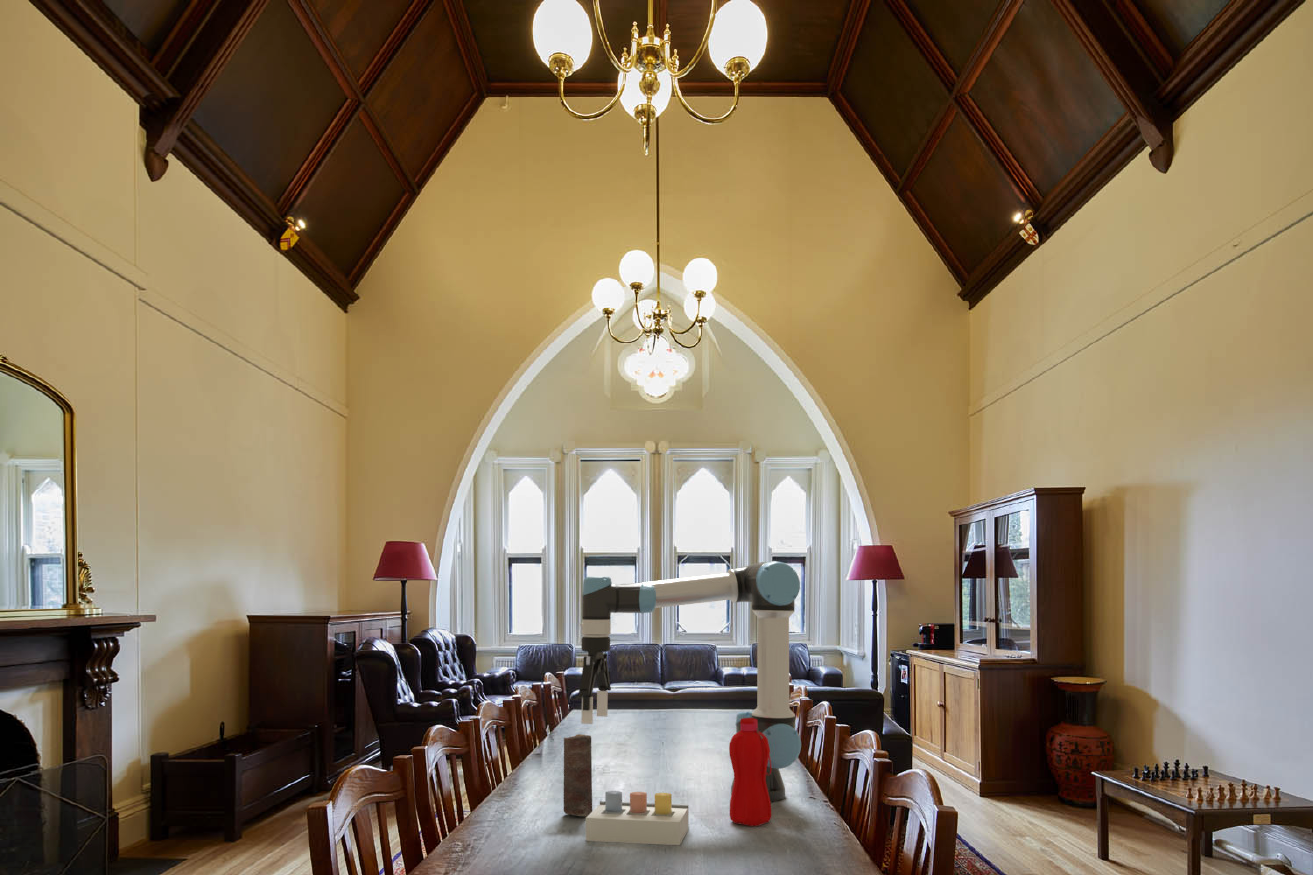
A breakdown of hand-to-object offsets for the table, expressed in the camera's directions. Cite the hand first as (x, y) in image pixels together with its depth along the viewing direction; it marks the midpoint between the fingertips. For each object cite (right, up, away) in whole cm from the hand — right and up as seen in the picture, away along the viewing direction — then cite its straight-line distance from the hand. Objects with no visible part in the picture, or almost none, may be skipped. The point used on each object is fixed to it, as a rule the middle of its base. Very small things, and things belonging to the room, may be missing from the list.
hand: (594, 719), depth 237 cm
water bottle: (+40, -23, -9) cm, 47 cm away
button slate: (+6, -16, -18) cm, 25 cm away
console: (+12, -21, -20) cm, 31 cm away
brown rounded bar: (-4, -24, -2) cm, 25 cm away
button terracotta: (+12, -16, -19) cm, 27 cm away
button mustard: (+18, -16, -20) cm, 31 cm away
